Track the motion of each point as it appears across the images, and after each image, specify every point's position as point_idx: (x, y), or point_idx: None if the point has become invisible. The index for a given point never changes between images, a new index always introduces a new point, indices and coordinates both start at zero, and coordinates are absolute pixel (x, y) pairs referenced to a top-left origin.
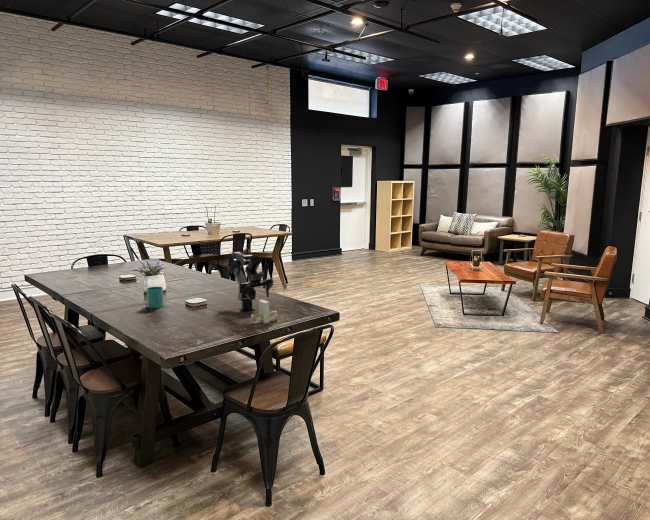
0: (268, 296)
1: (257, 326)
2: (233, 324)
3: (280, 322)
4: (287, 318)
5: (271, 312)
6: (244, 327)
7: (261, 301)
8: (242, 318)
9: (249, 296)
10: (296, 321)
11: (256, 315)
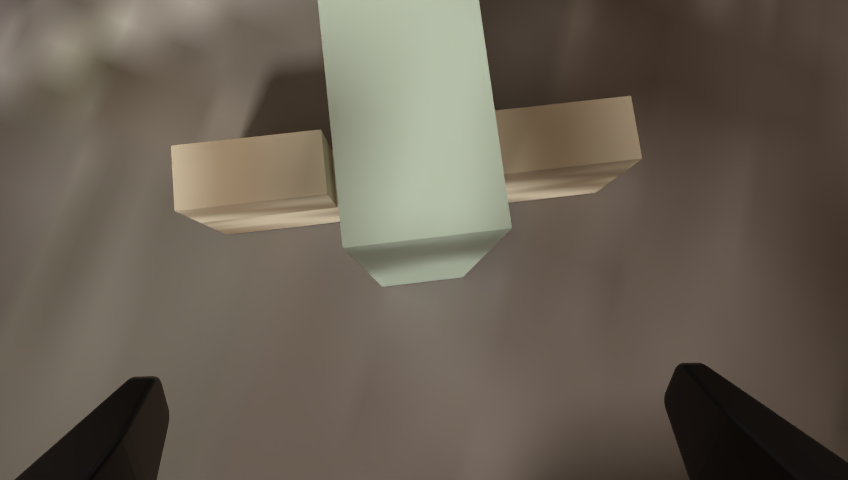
0: (126, 385)
1: (552, 8)
2: (837, 212)
3: (225, 58)
4: (65, 200)
5: (278, 142)
6: (715, 30)
7: (474, 38)
8: (675, 465)
9: (825, 452)
10: (15, 20)
11: (555, 107)
